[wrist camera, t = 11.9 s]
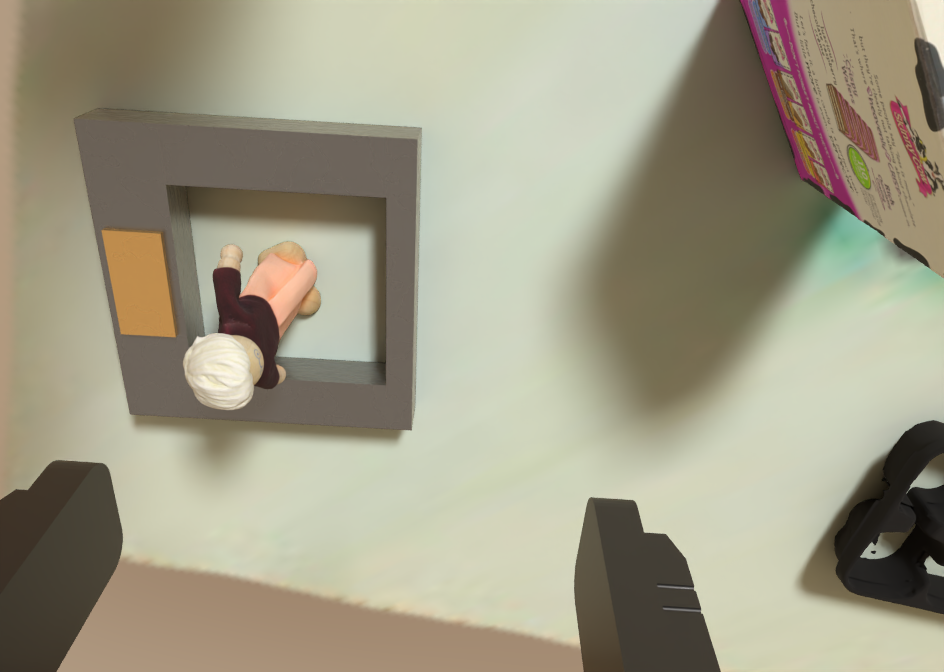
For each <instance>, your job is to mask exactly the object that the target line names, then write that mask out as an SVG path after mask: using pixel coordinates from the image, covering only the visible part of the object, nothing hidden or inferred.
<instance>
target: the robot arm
mask: <svg viewBox="0 0 944 672" xmlns="http://www.w3.org/2000/svg"><path fill="white" fill-rule="evenodd" d="M122 543H123V533H122V527H121V523H120V518H119V513H118V508H117V504H116V499H115V494H114V490H113V485H112V480H111V476H110V472H109V469H108V467H107V466H106V465H105V464H103V463H92V462H77V461H62V460H56V461H53V462H52V463H50V464H49V465H48V466H47V467H46V469H45V470H44V471H43V472H42V473H41V475H40V476H39V477H38V478H37V480H36V481H35V482H34V483H33V484H32V486H31V487H30V488H29V489H28V490H17V489H16V490H15V491H13V492H12V493H10V494H9V495H7V496H6V497H4V498H3V499H1V500H0V672H56V671H57V670H58V668H59V666H60V664H61V663H62V661H63V659H64V658H65V656H66V654H67V652H68V650H69V649H70V647H71V645H72V644H73V642H74V640H75V639H76V637H77V635H78V633H79V632H80V630H81V628H82V626H83V625H84V623H85V621H86V619H87V617H88V616H89V614H90V612H91V611H92V609H93V607H94V606H95V604H96V602H97V601H98V599H99V597H100V595H101V594H102V592H103V590H104V588H105V587H106V585H107V583H108V582H109V580H110V578H111V576H112V575H113V573H114V571H115V569H116V567H117V565H118V562H119V559H120V555H121V550H122ZM574 593H575V605H576V613H577V621H578V629H579V637H580V645H581V653H582V660H583V668H584V672H721V671H720V668H719V665H718V661H717V658H716V655H715V652H714V648H713V645H712V642H711V639H710V636H709V632H708V629H707V626H706V623H705V619H704V616H703V614H701V606H700V603H699V600H698V597H697V594H696V591H694V584H693V581H692V577H691V574H690V571H689V568H688V564H687V561H686V558H685V557H684V556H683V555H682V553H681V552H680V551H679V550H678V549H677V547H676V546H675V545H674V544H673V542H672V541H671V540H670V539H669V537H668V536H667V535H666V534H656V533H644V531H643V527H642V523H641V519H640V515H639V511H638V508H637V505H636V502H635V501H633V500H622V499H607V498H592V497H591V498H589V500H588V503H587V507H586V512H585V517H584V523H583V528H582V533H581V538H580V544H579V549H578V554H577V560H576V566H575V579H574Z"/></svg>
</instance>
